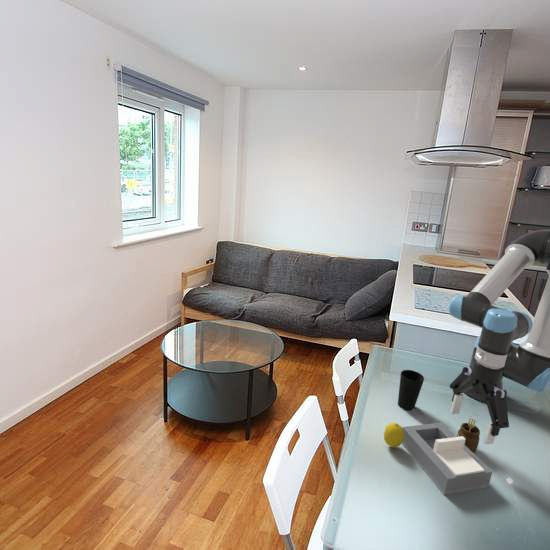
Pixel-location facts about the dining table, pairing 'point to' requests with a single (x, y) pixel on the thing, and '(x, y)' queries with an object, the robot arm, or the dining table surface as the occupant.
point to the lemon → (393, 435)
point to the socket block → (421, 449)
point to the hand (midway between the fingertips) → (470, 427)
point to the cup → (409, 389)
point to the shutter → (456, 456)
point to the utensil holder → (470, 434)
